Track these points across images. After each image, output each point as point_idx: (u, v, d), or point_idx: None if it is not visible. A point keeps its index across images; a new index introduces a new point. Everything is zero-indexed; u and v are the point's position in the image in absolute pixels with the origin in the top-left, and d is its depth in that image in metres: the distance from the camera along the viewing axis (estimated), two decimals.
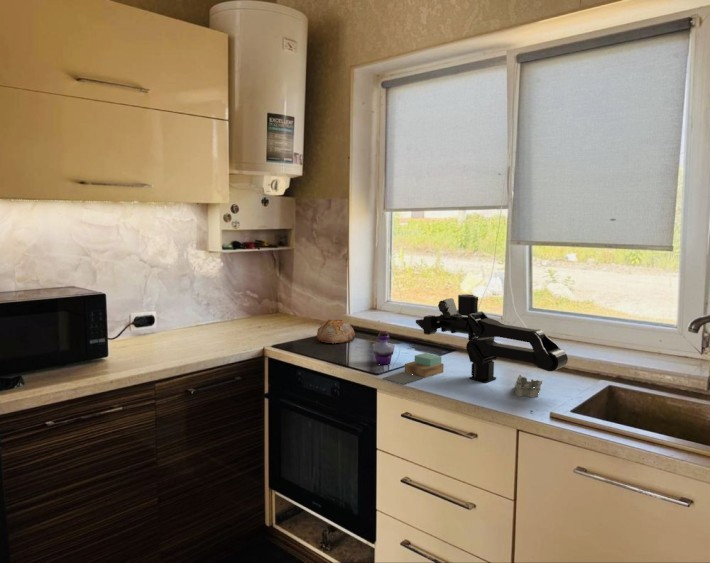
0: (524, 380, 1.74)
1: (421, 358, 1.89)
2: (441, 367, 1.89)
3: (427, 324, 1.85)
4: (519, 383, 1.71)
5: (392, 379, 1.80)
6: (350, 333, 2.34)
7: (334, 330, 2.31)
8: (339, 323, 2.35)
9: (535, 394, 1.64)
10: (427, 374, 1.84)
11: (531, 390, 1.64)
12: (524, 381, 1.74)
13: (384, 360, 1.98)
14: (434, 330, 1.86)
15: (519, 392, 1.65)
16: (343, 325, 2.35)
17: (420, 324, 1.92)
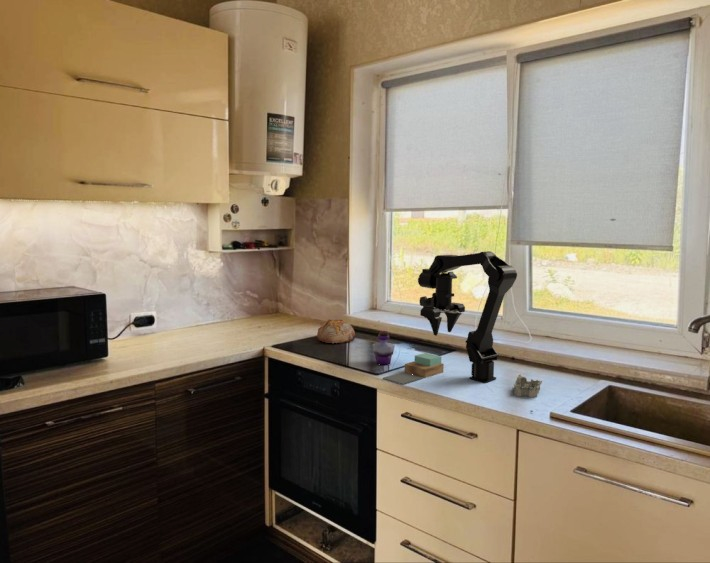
0: (524, 380, 1.74)
1: (421, 358, 1.89)
2: (441, 367, 1.89)
3: (425, 311, 1.88)
4: (519, 383, 1.71)
5: (392, 379, 1.80)
6: (350, 333, 2.34)
7: (334, 330, 2.31)
8: (339, 323, 2.35)
9: (534, 394, 1.64)
10: (427, 374, 1.84)
11: (530, 390, 1.64)
12: (524, 381, 1.74)
13: (384, 360, 1.98)
14: (435, 308, 1.88)
15: (518, 392, 1.65)
16: (343, 325, 2.35)
17: (435, 327, 1.91)
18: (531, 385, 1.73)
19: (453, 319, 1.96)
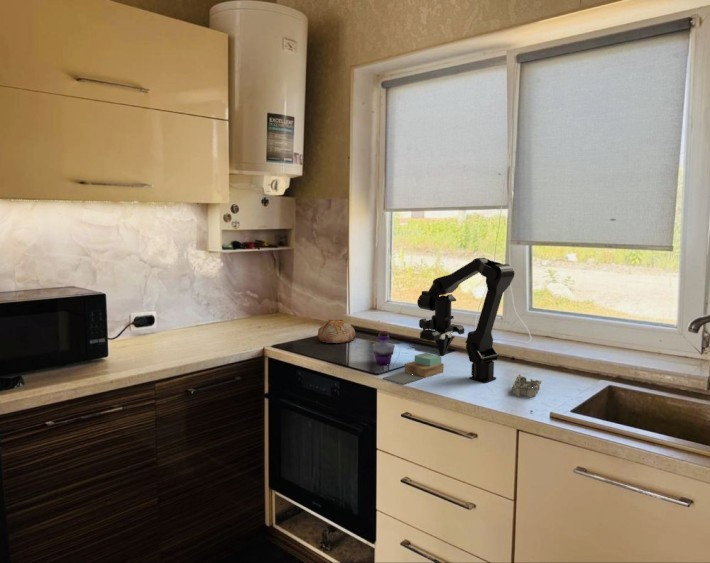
0: (524, 380, 1.74)
1: (421, 358, 1.89)
2: (441, 367, 1.89)
3: (424, 334, 1.89)
4: (518, 383, 1.71)
5: (392, 379, 1.80)
6: (351, 333, 2.34)
7: (335, 330, 2.31)
8: (340, 323, 2.35)
9: (533, 394, 1.64)
10: (427, 374, 1.84)
11: (528, 390, 1.64)
12: (524, 381, 1.74)
13: (384, 360, 1.98)
14: (434, 331, 1.89)
15: (517, 391, 1.66)
16: (344, 325, 2.35)
17: (441, 348, 1.94)
18: (531, 385, 1.73)
19: None
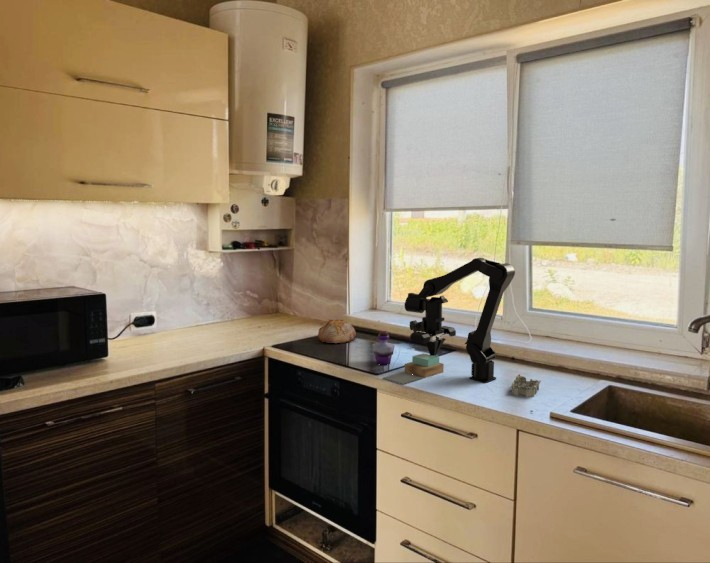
0: (523, 380, 1.75)
1: (419, 359, 1.88)
2: (441, 367, 1.89)
3: (414, 336, 1.86)
4: (517, 382, 1.71)
5: (392, 379, 1.80)
6: (351, 333, 2.34)
7: (336, 330, 2.31)
8: (340, 323, 2.35)
9: (531, 393, 1.65)
10: (427, 374, 1.84)
11: (527, 389, 1.64)
12: (523, 380, 1.75)
13: (384, 360, 1.98)
14: (424, 333, 1.85)
15: (515, 391, 1.66)
16: (344, 325, 2.35)
17: (432, 351, 1.91)
18: (530, 385, 1.73)
19: None
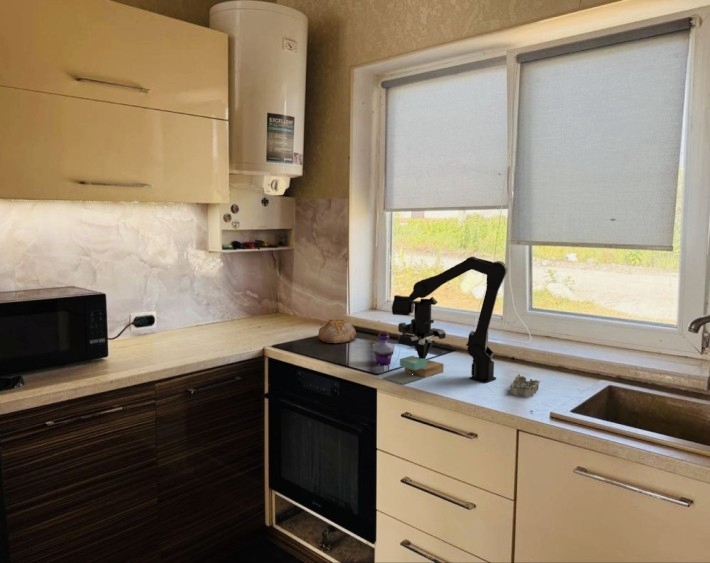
0: (523, 379, 1.75)
1: (406, 362, 1.84)
2: (441, 367, 1.89)
3: (402, 339, 1.82)
4: (516, 382, 1.72)
5: (392, 379, 1.80)
6: (351, 333, 2.34)
7: (336, 330, 2.31)
8: (341, 323, 2.35)
9: (530, 393, 1.65)
10: (427, 374, 1.84)
11: (526, 389, 1.64)
12: (523, 380, 1.75)
13: (384, 360, 1.98)
14: (413, 336, 1.81)
15: (514, 391, 1.66)
16: (345, 325, 2.35)
17: (421, 353, 1.87)
18: (530, 385, 1.73)
19: None
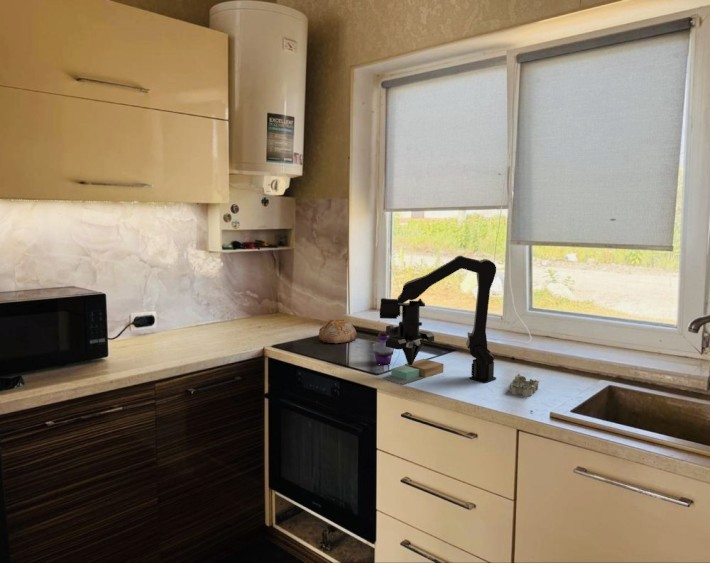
0: (523, 379, 1.75)
1: (398, 371, 1.82)
2: (441, 367, 1.89)
3: (390, 342, 1.77)
4: (516, 382, 1.72)
5: (392, 379, 1.80)
6: (352, 333, 2.34)
7: (336, 330, 2.31)
8: (341, 323, 2.35)
9: (528, 393, 1.65)
10: (427, 374, 1.84)
11: (524, 389, 1.65)
12: (523, 380, 1.75)
13: (384, 360, 1.98)
14: (400, 339, 1.77)
15: (513, 390, 1.67)
16: (345, 325, 2.35)
17: (409, 357, 1.83)
18: (530, 385, 1.73)
19: None
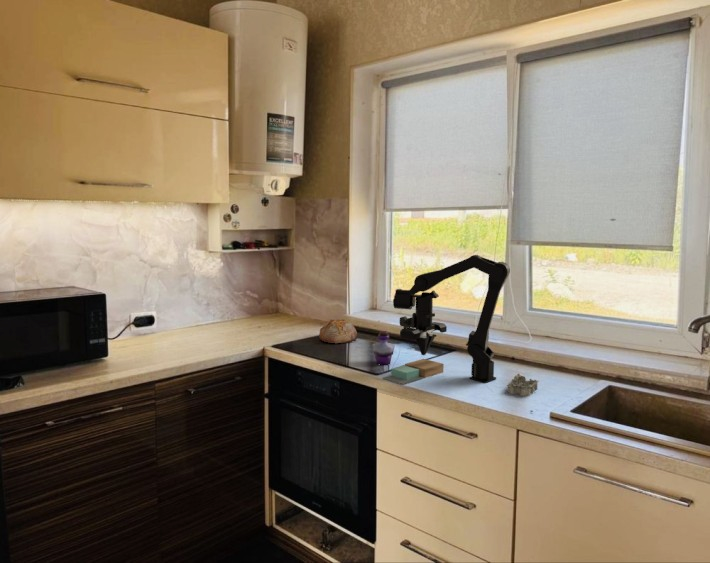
0: (523, 379, 1.75)
1: (398, 371, 1.82)
2: (441, 367, 1.89)
3: (404, 332, 1.82)
4: (515, 381, 1.72)
5: (392, 379, 1.80)
6: (353, 333, 2.34)
7: (337, 330, 2.31)
8: (342, 323, 2.35)
9: (526, 393, 1.65)
10: (427, 374, 1.84)
11: (522, 388, 1.65)
12: (523, 380, 1.75)
13: (384, 360, 1.98)
14: (414, 329, 1.82)
15: (511, 390, 1.67)
16: (346, 325, 2.35)
17: (422, 347, 1.87)
18: (529, 384, 1.73)
19: (427, 341, 1.88)
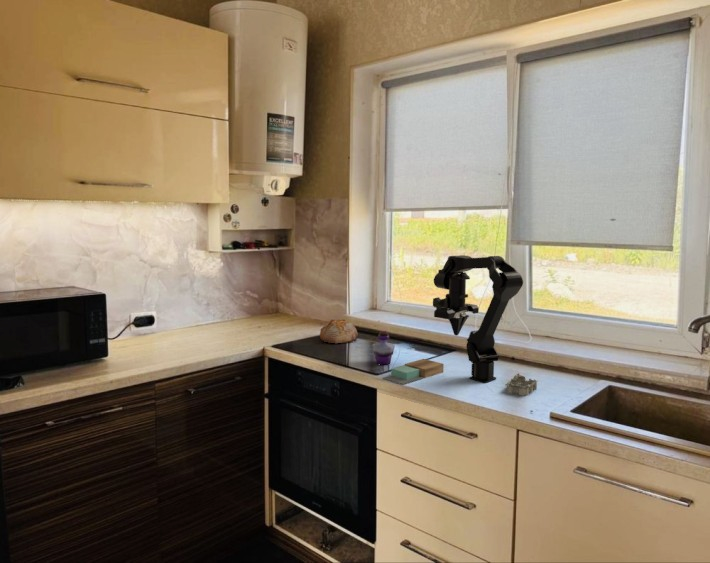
0: (523, 379, 1.75)
1: (398, 371, 1.82)
2: (441, 367, 1.89)
3: (439, 312, 1.86)
4: (514, 381, 1.73)
5: (392, 379, 1.80)
6: (353, 333, 2.34)
7: (338, 330, 2.31)
8: (342, 323, 2.35)
9: (524, 392, 1.66)
10: (427, 374, 1.84)
11: (520, 388, 1.66)
12: (523, 380, 1.75)
13: (384, 360, 1.98)
14: (449, 309, 1.86)
15: (509, 389, 1.68)
16: (346, 325, 2.35)
17: (455, 327, 1.92)
18: (529, 384, 1.73)
19: None
